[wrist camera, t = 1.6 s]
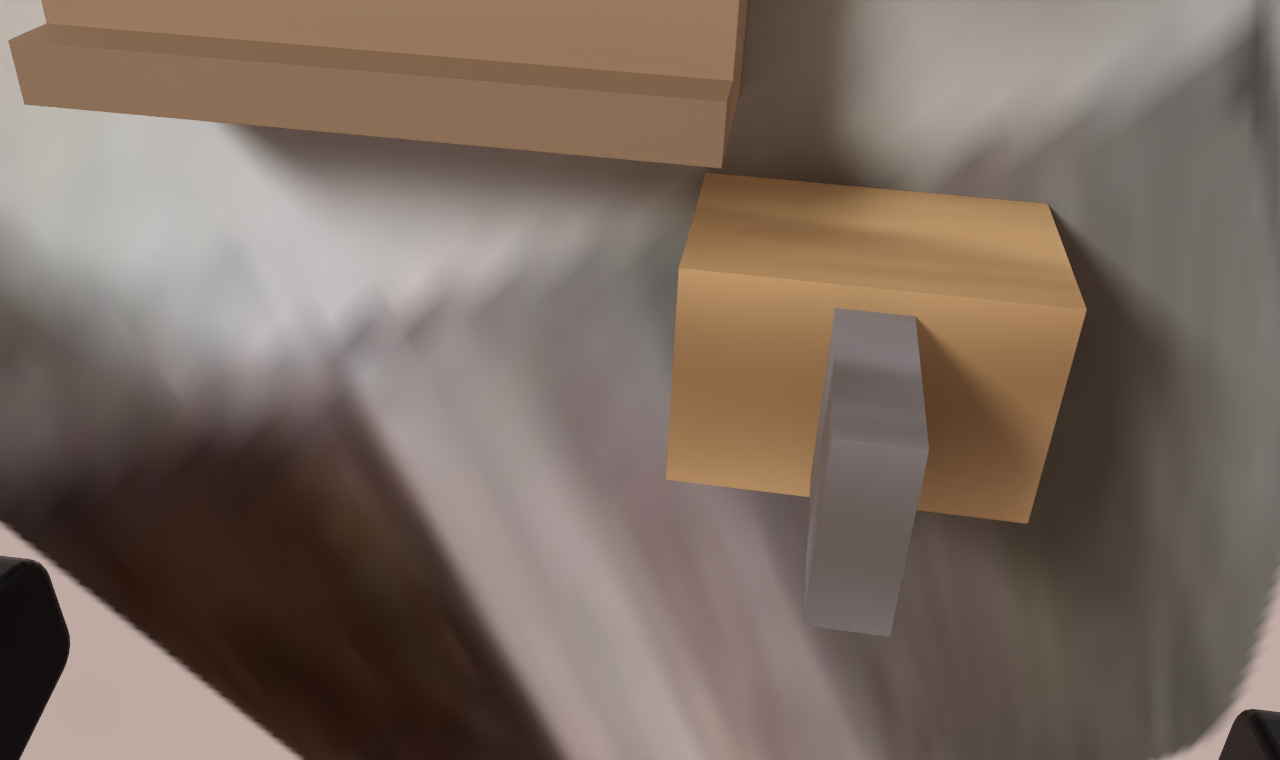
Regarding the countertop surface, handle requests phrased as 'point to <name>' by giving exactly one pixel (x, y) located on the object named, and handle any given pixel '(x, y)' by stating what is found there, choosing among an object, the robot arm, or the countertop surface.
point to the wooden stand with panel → (409, 69)
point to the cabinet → (869, 366)
